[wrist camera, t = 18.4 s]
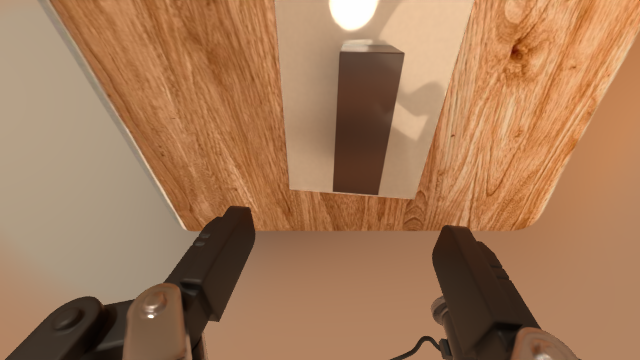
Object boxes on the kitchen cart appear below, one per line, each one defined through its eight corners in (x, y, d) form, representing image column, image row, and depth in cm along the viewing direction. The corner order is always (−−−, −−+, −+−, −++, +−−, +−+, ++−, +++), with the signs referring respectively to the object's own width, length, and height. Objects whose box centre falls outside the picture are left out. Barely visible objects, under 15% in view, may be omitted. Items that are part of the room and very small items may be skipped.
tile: (411, 192, 29) (414, 199, 27) (292, 183, 30) (289, 189, 29) (473, -22, 17) (482, -26, 16) (277, -21, 19) (272, -24, 18)
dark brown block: (373, 161, 25) (378, 195, 20) (336, 159, 26) (332, 192, 21) (392, 44, 19) (405, 52, 14) (343, 43, 19) (339, 51, 15)
